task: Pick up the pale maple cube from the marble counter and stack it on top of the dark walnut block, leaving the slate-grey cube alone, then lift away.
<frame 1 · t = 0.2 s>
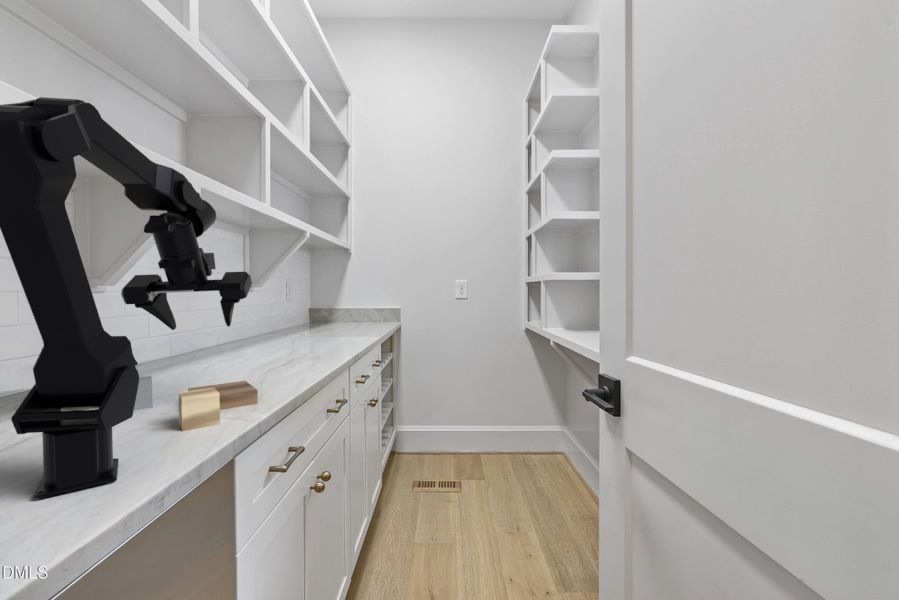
hand: (202, 326, 74), 14 cm above the counter, tool tilted 30°, fingers open, 9 cm apart
walnut block: (222, 404, 76), on the counter
condiment: (87, 405, 75), on the counter
maple cube: (199, 423, 64), on the counter
slate cube: (135, 407, 73), on the counter
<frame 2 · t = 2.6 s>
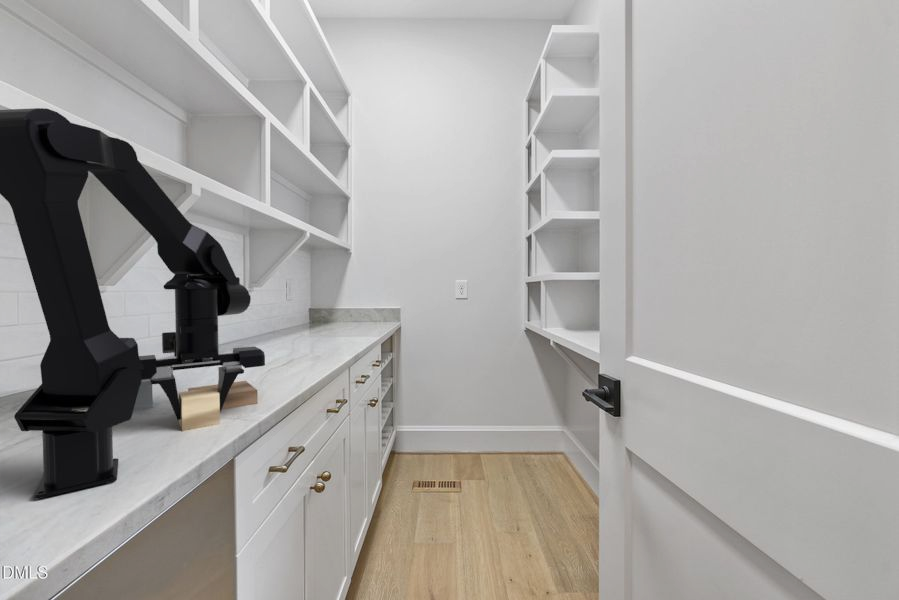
hand: (199, 415, 64), 1 cm above the counter, tool pointing down, fingers closed on maple cube, 5 cm apart
maple cube: (199, 423, 64), on the counter, touching gripper
everything else where it was.
when the fingers open (5 cm above the counter, at t = 7.5 s): maple cube drops 1 cm, point 2 cm above the counter.
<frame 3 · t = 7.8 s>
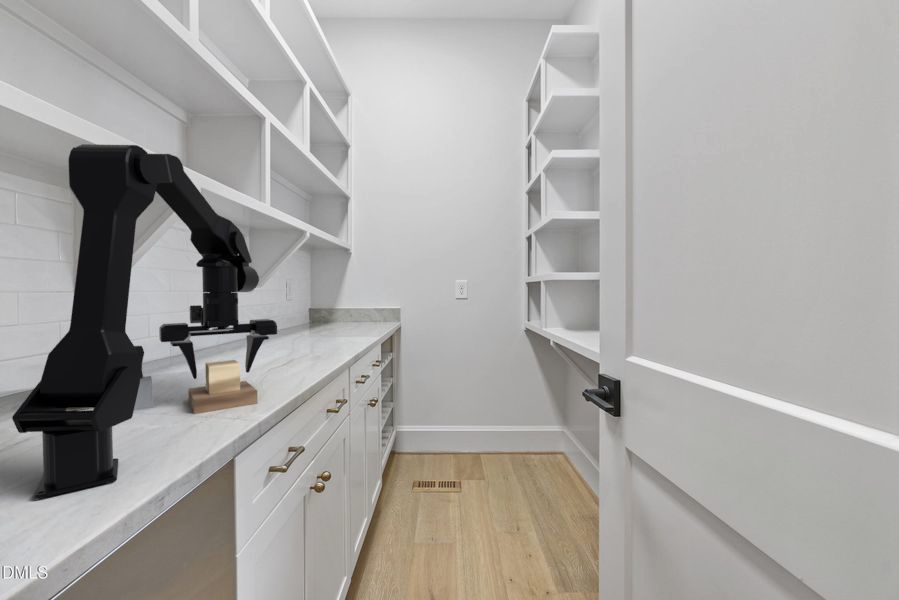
hand: (222, 375, 75), 5 cm above the counter, tool pointing down, fingers open, 8 cm apart
maple cube: (222, 389, 75), point 2 cm above the counter
everything else where it was.
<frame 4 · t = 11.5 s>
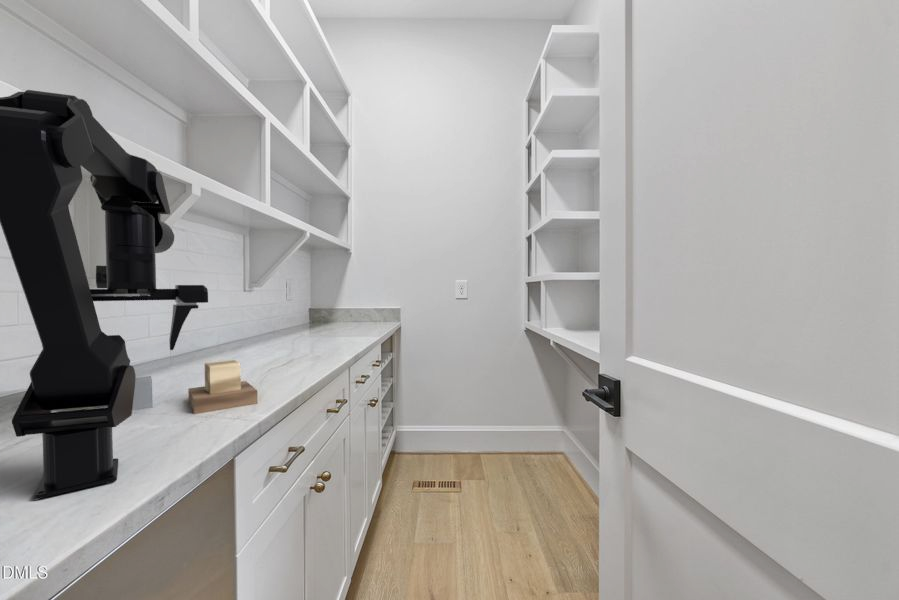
hand: (133, 352, 59), 12 cm above the counter, tool pointing down, fingers open, 9 cm apart
nothing on the counter moved.
at the end: maple cube 0.1 cm off-centre on the walnut block, point 3.0 cm above the walnut block's base; maple cube tilted 0°; the gripper is holding nothing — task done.
